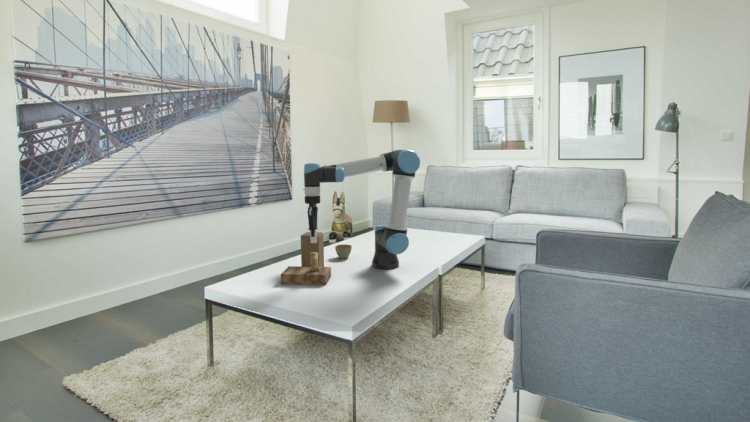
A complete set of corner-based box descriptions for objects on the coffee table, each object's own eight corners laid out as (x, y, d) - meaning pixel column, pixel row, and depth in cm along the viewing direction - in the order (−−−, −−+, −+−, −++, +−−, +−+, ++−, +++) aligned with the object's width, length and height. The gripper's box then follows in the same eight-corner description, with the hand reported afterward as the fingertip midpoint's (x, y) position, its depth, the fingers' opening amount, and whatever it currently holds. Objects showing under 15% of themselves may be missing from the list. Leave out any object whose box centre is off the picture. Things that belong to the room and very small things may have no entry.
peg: (319, 279, 217) (318, 252, 215) (317, 281, 214) (316, 254, 212) (311, 279, 218) (311, 252, 216) (310, 281, 214) (309, 253, 212)
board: (331, 276, 222) (330, 266, 221) (326, 284, 208) (325, 274, 208) (289, 275, 224) (288, 266, 223) (281, 284, 210) (280, 274, 209)
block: (318, 272, 229) (317, 235, 226) (301, 271, 231) (299, 235, 228) (324, 267, 239) (323, 232, 236) (307, 266, 241) (306, 231, 238)
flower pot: (335, 256, 264) (335, 244, 263) (351, 255, 265) (351, 244, 264) (335, 260, 254) (335, 248, 253) (352, 259, 255) (352, 247, 254)
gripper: (307, 193, 216) (309, 239, 220) (301, 196, 203) (302, 245, 207) (322, 193, 216) (323, 240, 219) (317, 196, 203) (318, 245, 206)
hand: (313, 242), depth 213 cm, fingers closed
